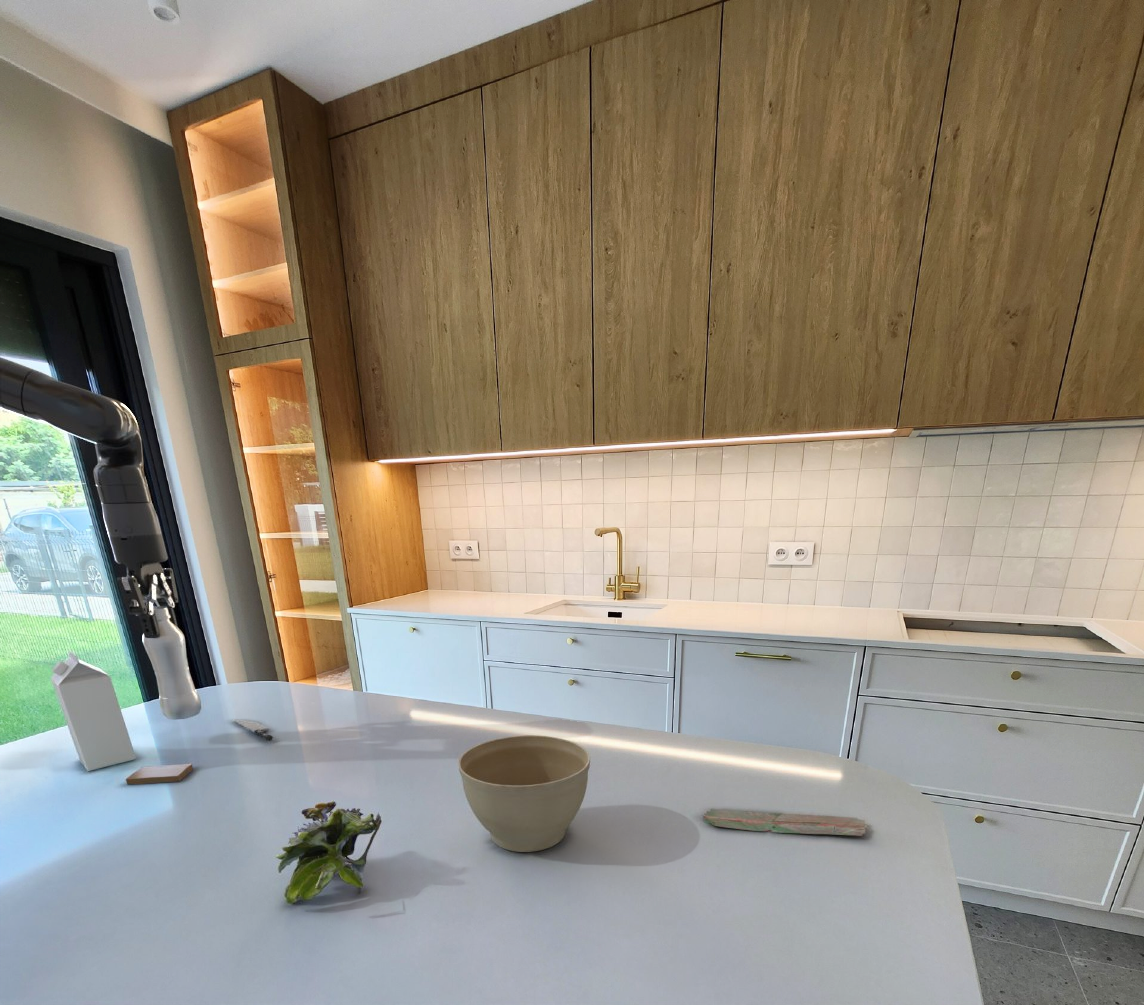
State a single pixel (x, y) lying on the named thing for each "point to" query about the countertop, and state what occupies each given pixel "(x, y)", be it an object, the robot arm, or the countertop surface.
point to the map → (786, 822)
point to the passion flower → (326, 850)
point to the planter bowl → (525, 788)
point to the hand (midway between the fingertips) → (162, 633)
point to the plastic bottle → (172, 669)
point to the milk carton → (92, 713)
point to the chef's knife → (255, 728)
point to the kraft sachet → (159, 774)
